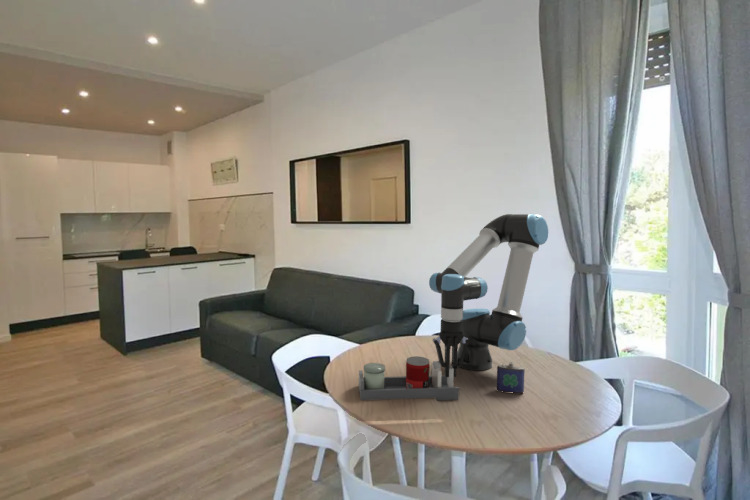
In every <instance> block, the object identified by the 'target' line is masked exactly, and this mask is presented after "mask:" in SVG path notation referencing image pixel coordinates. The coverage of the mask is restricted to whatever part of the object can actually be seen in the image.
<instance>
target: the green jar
mask: <svg viewBox="0 0 750 500" xmlns="http://www.w3.org/2000/svg"><path fill="white" fill-rule="evenodd" d="M385 371H386V366H385V365H384V364H383V363H379V362H370V363H365V364H364V365H363V377H364V390H373V389H384V377H385V374H386V373H385Z"/></svg>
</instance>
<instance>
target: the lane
mask: <svg viewBox="0 0 750 500" xmlns="http://www.w3.org/2000/svg"><path fill="white" fill-rule="evenodd" d="M358 389H359V397H360V401H372V400H373V401H374V400H375V401H377V400H398V399H399V400H401V399H402V400H403V399H404V400H405V399H406V400H407V399H429V398H430V399H432V398H433V399H434V398H435V400H436V401H453V400H458V401H459V397H460V396H459V393H460V391H459V390H460V388H459V387H458V386H453V387H449V386H448V385H447V377H446V376H445V374H442V376H441V387H436V388H434V387H433V386H432V375H429V388H406V375H405V376H404V375H402V376H384V389H373V390H364V370H362V369H361V370H358Z"/></svg>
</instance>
